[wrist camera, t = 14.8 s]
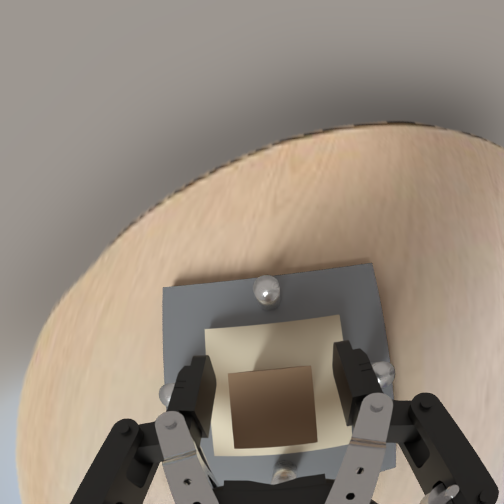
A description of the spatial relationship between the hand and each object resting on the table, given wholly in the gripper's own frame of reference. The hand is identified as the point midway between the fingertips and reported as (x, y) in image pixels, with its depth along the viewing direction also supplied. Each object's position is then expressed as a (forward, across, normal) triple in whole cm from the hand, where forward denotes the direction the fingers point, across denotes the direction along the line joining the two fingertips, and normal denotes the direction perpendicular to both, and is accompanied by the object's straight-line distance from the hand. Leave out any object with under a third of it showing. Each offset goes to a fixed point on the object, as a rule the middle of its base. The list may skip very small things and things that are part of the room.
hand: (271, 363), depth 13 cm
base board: (+4, 0, +6) cm, 7 cm away
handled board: (+2, 0, +5) cm, 6 cm away
